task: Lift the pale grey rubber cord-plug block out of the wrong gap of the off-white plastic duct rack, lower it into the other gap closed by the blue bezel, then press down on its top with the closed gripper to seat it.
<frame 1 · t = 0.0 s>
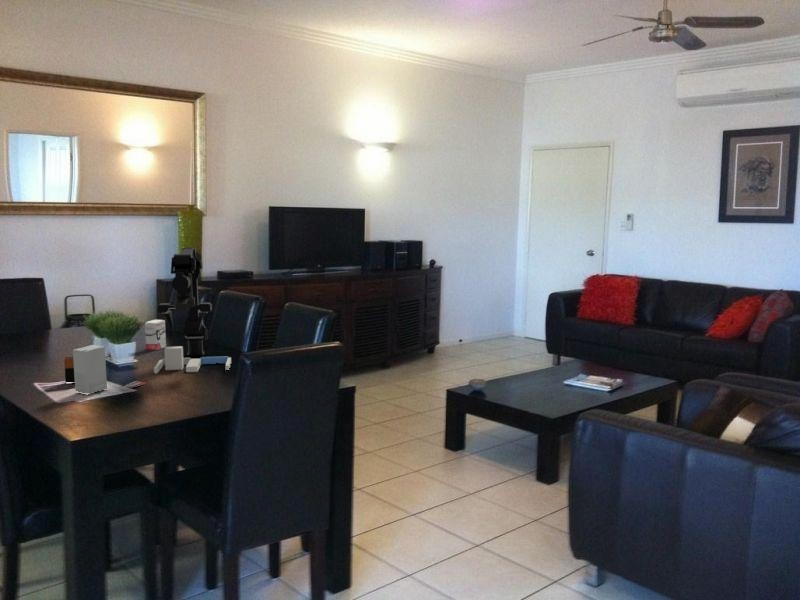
hand: (185, 330, 266), 15 cm above the table, fingers open, 9 cm apart
plug block: (174, 368, 270), resting in duct rack
ink box: (156, 348, 308), on the table
battery: (77, 383, 249), on the table
duct rack: (193, 367, 271), on the table
skincare box: (91, 392, 236), on the table
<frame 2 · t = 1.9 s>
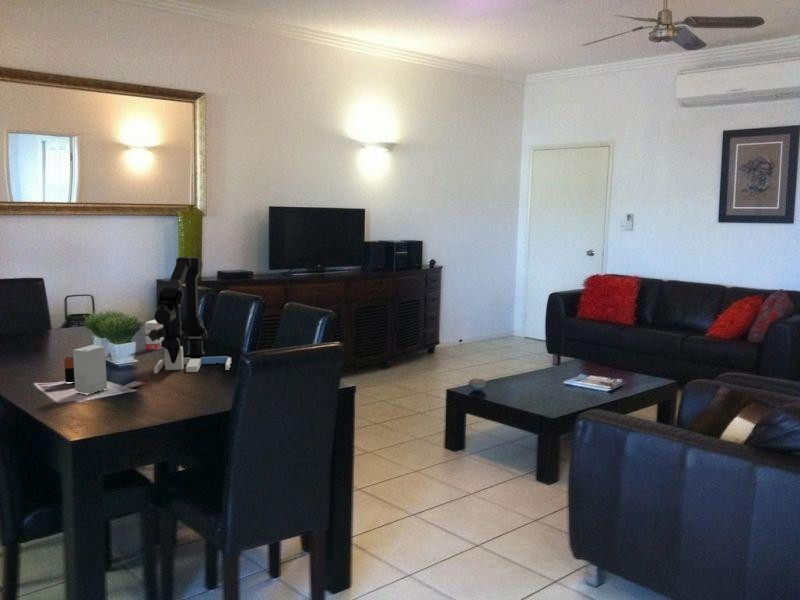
hand: (174, 361, 270), 3 cm above the table, fingers closed on plug block, 4 cm apart
plug block: (174, 368, 270), resting in duct rack, touching gripper
everything else where it was.
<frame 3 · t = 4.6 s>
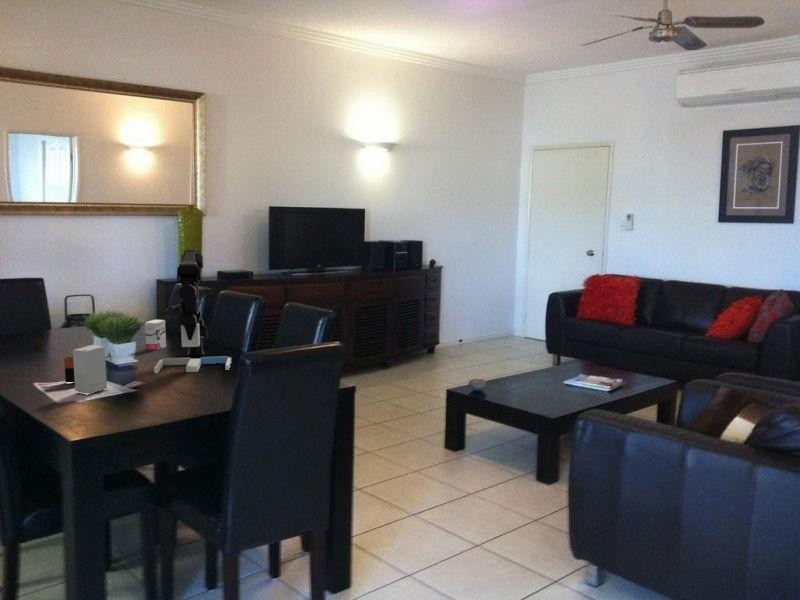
hand: (190, 339, 270), 11 cm above the table, fingers closed on plug block, 4 cm apart
plug block: (190, 345, 270), point 8 cm above the table, touching gripper
everything else where it was.
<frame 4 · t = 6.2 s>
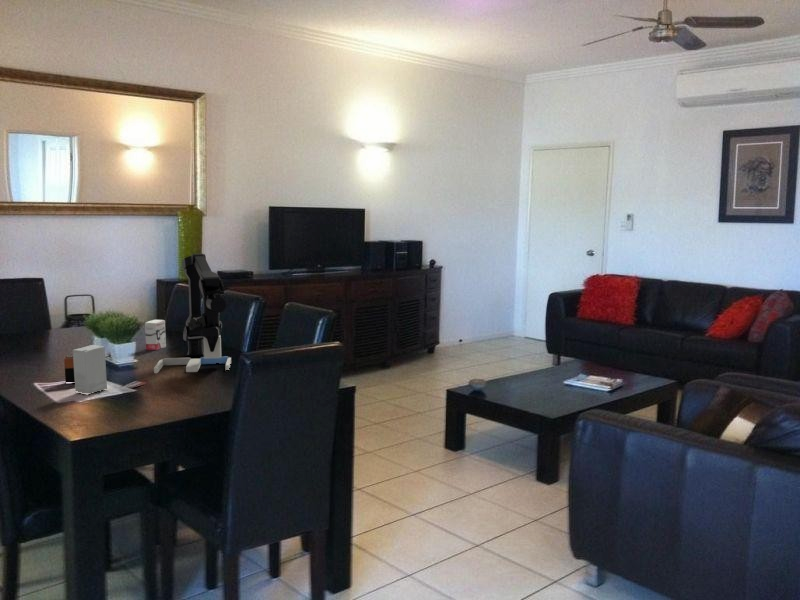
hand: (212, 350, 272), 6 cm above the table, fingers closed on plug block, 4 cm apart
plug block: (212, 357, 272), point 4 cm above the table, touching gripper
everything else where it was.
when the fingers open (3 cm above the table, at t = 7.4 s): plug block stays where it is, resting in duct rack.
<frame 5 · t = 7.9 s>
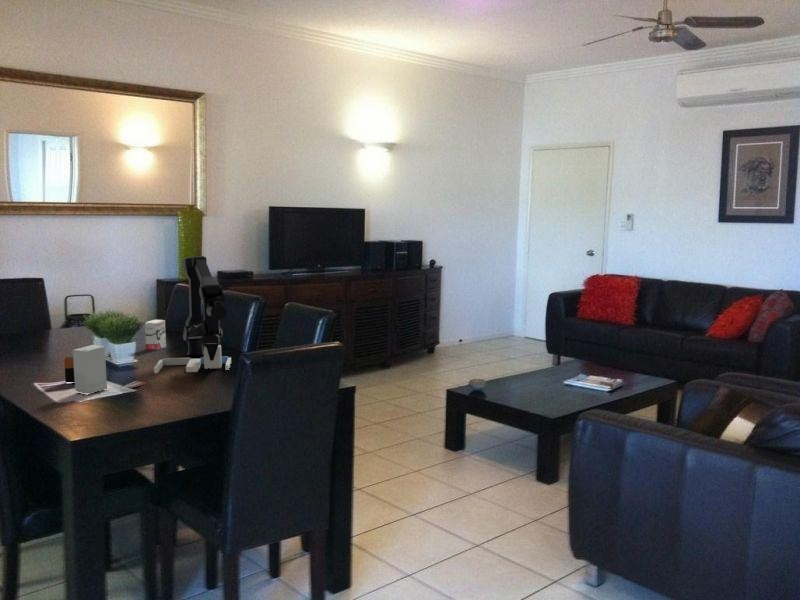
hand: (212, 357, 272), 3 cm above the table, fingers open, 9 cm apart
plug block: (213, 367, 272), resting in duct rack
everything else where it was.
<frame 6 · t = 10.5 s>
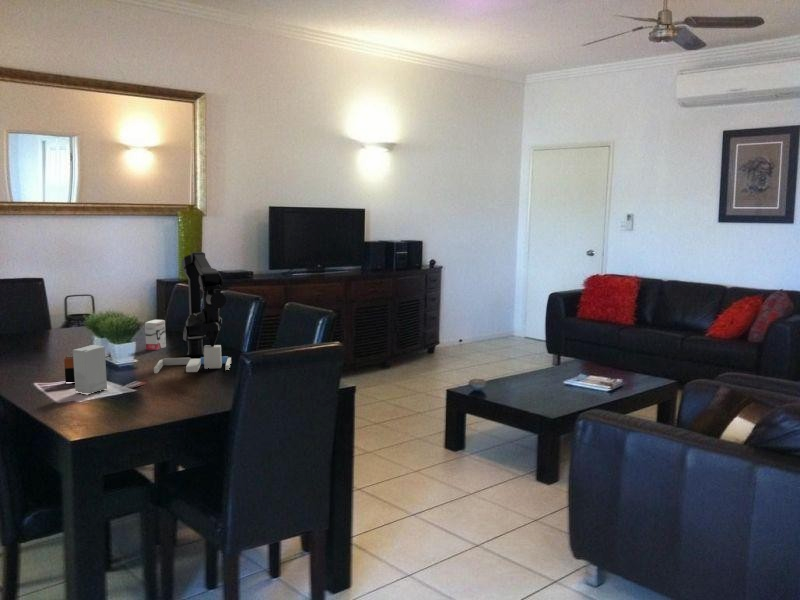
hand: (212, 346, 271), 8 cm above the table, fingers closed, pressing on plug block
plug block: (213, 367, 272), resting in duct rack, touching gripper
everything else where it was.
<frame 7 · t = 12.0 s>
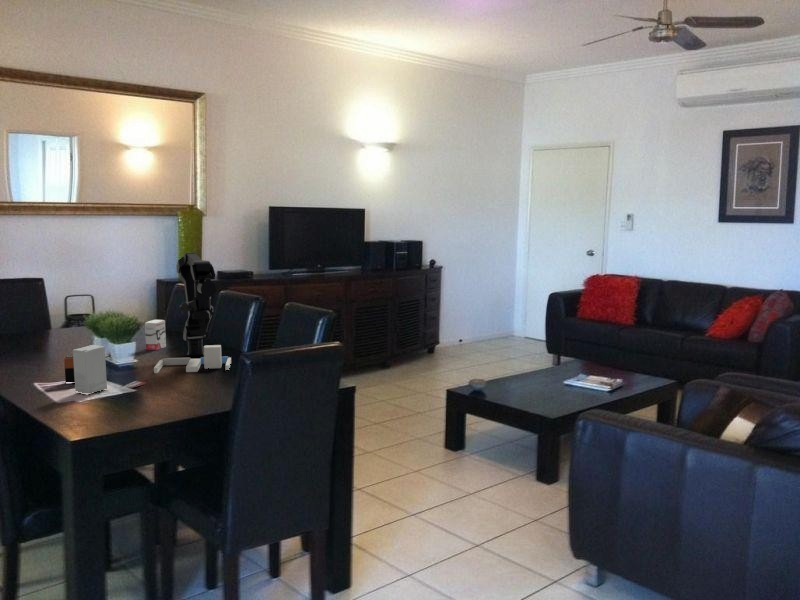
hand: (203, 334, 280), 11 cm above the table, fingers closed
plug block: (213, 367, 272), resting in duct rack
everything else where it was.
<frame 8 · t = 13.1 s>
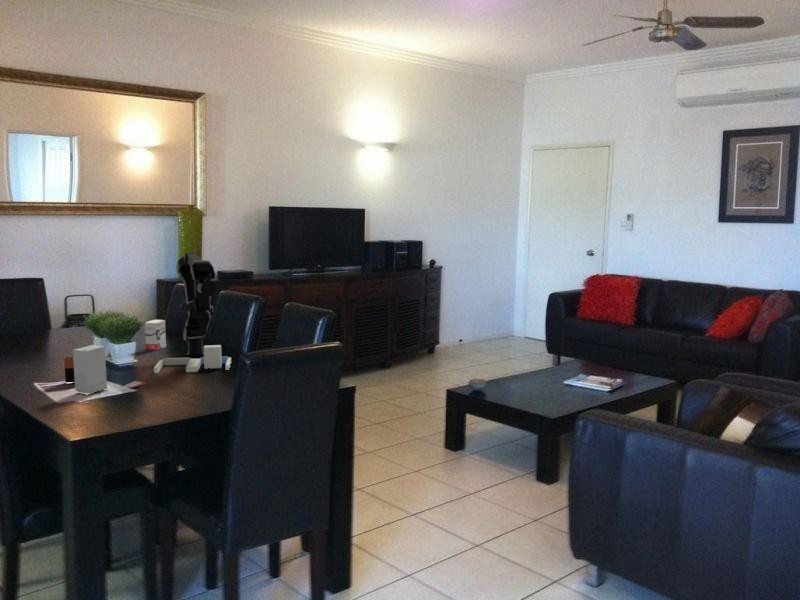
hand: (203, 333, 280), 11 cm above the table, fingers closed
nothing on the table moved.
at the end: plug block 0.0 cm from the target spot on the duct rack, point 0.0 cm above the duct rack's base; plug block tilted 0°; the gripper is holding nothing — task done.
